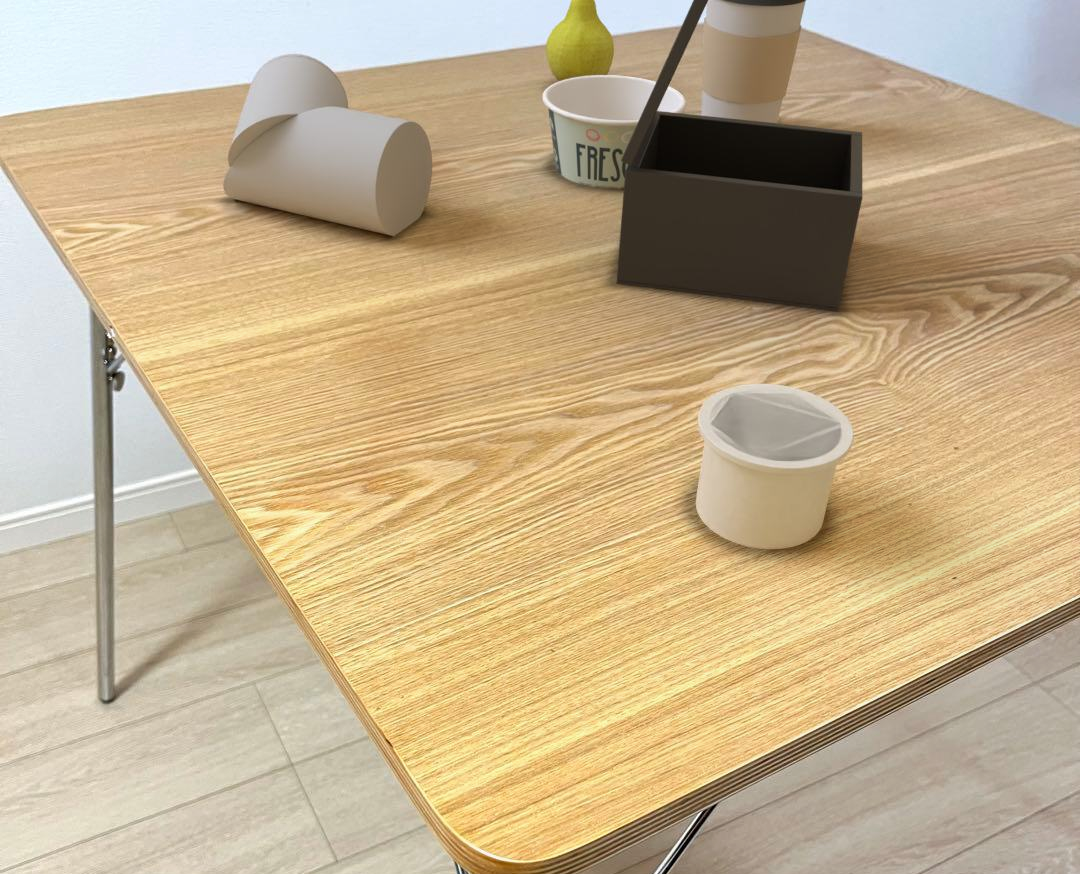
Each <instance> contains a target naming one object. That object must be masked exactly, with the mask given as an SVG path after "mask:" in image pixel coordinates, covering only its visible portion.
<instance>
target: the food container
mask: <svg viewBox="0 0 1080 874" xmlns="http://www.w3.org/2000/svg"><path fill="white" fill-rule="evenodd" d="M655 84H656V80H651V79H647V78H642V77H635V76H627V75H616V74H614V75H613V74H607V75H592V76H581V77H575V78H570V79H565V80H562V81H557V82H554V83H552V84H551V85H549V86H547V88H545V90H544V91H543V93H542V97H541V98H542V102H543V103H544V105H545V106H546V107H547V110H548V111H547V112H548V117H549V126H550V133H551V141H552V148H553V149H552V150H553V155H554V164H555V169H556V171H557V173H559V175H561V176H562V177H563V178H565V179H567V180H568V181H571V182H573V183H577V184H579V185H582V186H587V187H593V188H600V189H611V190H615V189H616V190H617V189H618V190H619V189H620V190H621V189H623V190H624V181H625V171H626V169H627V166H628V164H626V163H624V162H622V161H621V159H622V156H623V154H624V152H625V150H626V148H627V145H628V143H629V141H630V139H631V137H632V134H633V132H634V130H635V128H636V126H637V123H638V121H639V119H640V117H641V114H642V112H643V110H644V108H645V106H646V103H647V101H648V99H649V97H650V95H651V92H652V90H653V88H654V86H655ZM686 108H687V100H686V98H685V96H684V95H683V93H681V92H680V91H678V89H675V88H674V87H672V86H670V85H669V86H668V88H667V90H666V92H665V95H664V97H663V99H662V101H661V103H660V105H659V108H658V110H657V111H662V112H672V113H682V114H683V112H684V111H685V110H686Z"/></svg>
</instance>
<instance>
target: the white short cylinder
mask: <svg viewBox="0 0 1080 874" xmlns="http://www.w3.org/2000/svg"><path fill="white" fill-rule="evenodd" d="M697 429H698V432H699V434H700V437H701V438H702V440H703V442H704V445H703V449H702V456H701V462H700V463H701V464H700V471H699V477H698V483H697V491H696V497H695V508H696V509H695V510H696V511H697V515H698V516H699V518H700V520H701V521H702V522H703V523H704V525H706V527H707V528H709V530H711V531H712V532H713V533H715V534H716V535H717V536H720V537H721V538H723V539H725V540H727V541H729V542H732V543H734V544H736V545H737V544H738V545H741V546H744V547H748V548H753V549H761V550H783V549H789V548H793V547H797V546H800V545H802V544H805V543H807V542H808V541H810V540H812V539H813V538H814V537H816V535H817V534H819V532H820V530H821V529H822V526H823V524H824V519H825V516H826V511H827V506H828V503H829V499H830V494H831V491H832V486H833V482H834V479H835V478H834V477H835V474H836V469H837V465H838V464H839V463H840V462H842V461H843V460H844V459H845V458H846V457H847V456H848V454H849V453H850V451H851V449H852V447H853V444H854V443H853V442H854V436H855V434H854V428H853V425H852V423H851V421H850V419H849V418H848V417H847V415H846V414H845V413H844V412H843V411H842V410H841V409H840V408H839V407H838V406H836V405H835V404H833V403H832V402H831V401H828V400H827V399H825V398H823V397H822V396H819V395H817V394H815V393H812V392H809V391H807V390H803V389H801V388H797V387H792V386H790V385H789V386H788V385H782V384H776V383H775V384H773V383H748V384H747V383H746V384H739V385H734V386H731V387H727V388H724V389H722V390H720V391H717V392H715V393H713V394H712V395H711V396H709V397H708V398H707V399H706V400H705V401H704V402H703V403H702V405H701V407H700V408H699V412H698V415H697Z"/></svg>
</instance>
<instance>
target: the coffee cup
mask: <svg viewBox="0 0 1080 874" xmlns="http://www.w3.org/2000/svg"><path fill="white" fill-rule="evenodd" d="M806 1H807V0H708V2H707V4H706V6H705V8H706V10H705V17H704V19H703V37H702V40H703V41H702V55H701V56H702V59H701V62H702V63H701V82H700V88H701V90H702V91H701V111H700V112H701V113H700V114H701V116H711V117H720V118H730V119H740V120H749V121H759V122H769V123H778V121H779V117H780V114H781V108H782V104H783V101H784V98H785V97H786V95H787V91H788V86H789V82H790V77H791V73H792V69H793V65H794V61H795V56H796V52H797V49H798V44H799V39H800V36H801V32H802V24H801V23H802V18H803V14H804V10H805V5H806Z"/></svg>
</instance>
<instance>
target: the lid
mask: <svg viewBox="0 0 1080 874" xmlns="http://www.w3.org/2000/svg"><path fill="white" fill-rule="evenodd" d="M707 2H708V0H692V2H691V5H690V7H689V9H688V11H687V14H686V16H685V18H684V20H683V22H682V24H681V27H680V29H679V30H678V33H677V36H676V38H675V40H674V41H673V44H672V47H671V49H670V51H669V53H668V56H667V57H666V60H665V62H664V64H663V66H662V68H661V71H660V72H659V75H658V77H657V78H656V79H657V80H655V82H656V84H655V86H654V88H653V90H652V92H651V95H650V97H649V99H648V101H647V103H646V106H645V108H644V110H643V112H642V114H641V117H640V119H639V121H638V123H637V126H636V128H635V130H634V132H633V134H632V137H631V139H630V141H629V143H628V145H627V148H626V150H625V152H624V154H623V156H622V159H621V161H622V162H624V163H626V164H628V165H630V166H631V165H632V164H633V161H634V159H635V157H636V155H637V153H638V151H639V149H640V146H641V144H642V142H643V140H644V138H645V136H646V133H647V131H648V129H649V127H650V125H651V123H652V120H653V118H654V116H655V114H656V112H657V110H658V108H659V105H660V103H661V101H662V99H663V97H664V95H665V92H666V90H667V88H668V86H670V84H671V82H672V79H673V77H674V75H675V73H676V71H677V68H678V66H679V64H680V63H681V60H682V58H683V55H684V53H685V52H686V49H687V47H688V45H689V43H690V41H691V39H692V36H693V34H694V32H695V30H696V28H697V25H698V24H699V21H700V19H701V17H702V15H703V12H704V10H705V8H706V7H707Z"/></svg>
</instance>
